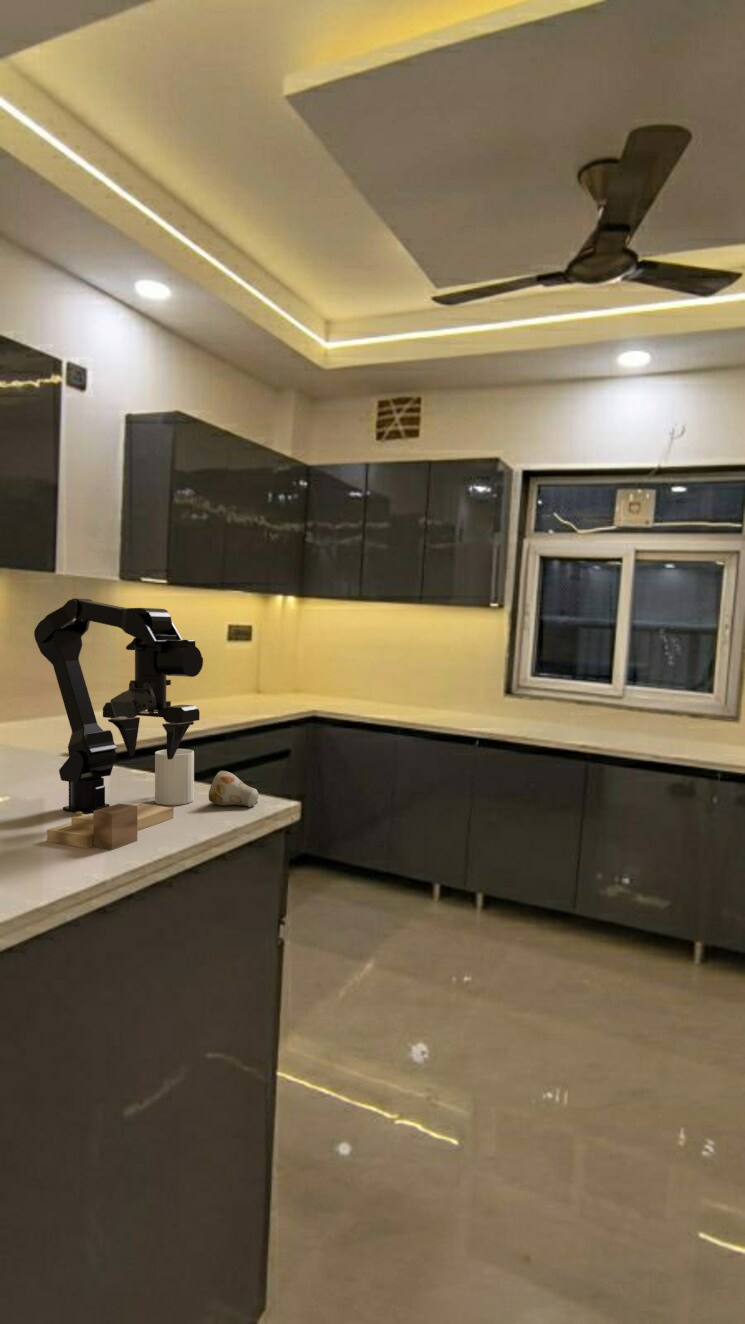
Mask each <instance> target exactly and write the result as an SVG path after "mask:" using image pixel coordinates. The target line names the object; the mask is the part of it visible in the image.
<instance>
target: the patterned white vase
mask: <svg viewBox="0 0 745 1324" xmlns="http://www.w3.org/2000/svg"><path fill="white" fill-rule="evenodd" d="M258 799H259V792H258V790H257V789H256V788H254V787H251V786H249V785H247V784H246V783H244V782H243V781H242V780H241V779H239V777H237V776H236V775H235V774H233V773H232V772H229V771H226V770H219V771H218V772H217V774H216V775H215V776H214V778H213V780H212V783H211V785H210V787H209V791H208V801H209V802H211V803H212V804H214V805H217V806H221V807H222V806H226V807H227V806H237V805H238V806H244V807H247V806H251V807H253V806H255V804H257V803H256V802H259V800H258Z"/></svg>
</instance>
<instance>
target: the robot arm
mask: <svg viewBox="0 0 745 1324" xmlns="http://www.w3.org/2000/svg"><path fill="white" fill-rule="evenodd" d="M90 622H93V623H98V624H102V625H106V626H110V627H116V628H119V629H121V630H122V631H123V632H124V633H125V634H127V635H129V636H131V637H134V638H133V639H132V641H131V642H130V643H128V644H127V645H126V646H125V650H127V651H134V679H133V680H129V683H128V689H127V690H125V691H122V692H121V693H120V694H119V693H118V694H117V695H116V696H115V697H113V698H111V699H110V700H109V702H105V704H104V705H103V707H102V718H108V719H107V721H108V722H109V723H111V724H113V725H114V726H115V727H116V728H118V731H119V734H120V736H121V738H122V740H123V743H124V745H125V746H124V747H125V748H126V751H127V754H128V756H134V755H135V754H136V748H137V744H138V743H137V742H138V734H139V726H140V722H141V721H140V720H141V717H153V718H162V719H163V720H164V721H165V723H162V727H163V729H164V731H165V732H166V749H167V758H168V759H169V760H170V759H173V757H174V755H175V753H176V751H177V749H179V746H180V743H181V742H182V739H183V738H184V736H185V735H186V732H187V731H188V729H189V728H190V726H193V725H194V724H195V722H197V721H200V710H199V707H197V705H195V704H194V705H192V704H191V705H189V704H176V705H175V704H174V705H172V701H171V700H170V701H168V700H167V686H172V680H171V679H167V676H168V677H170V676H171V677H186V678H187V677H188V678H189V677H190V678H194V677H196V676H198V675H199V674H200V673H201V671H202V669H203V666H204V658H203V656H202V653H201V650H200V649H199V648H198V647H197V646H196V640H195V639H183V637H182V635H181V634H180V632H179V630H178V629H177V627H176V625H175V624H174V621H173V620H172V617H171V615H170V611H168V610H167V609H165V608H155V607H154V608H151V607H124V606H119V605H114V604H108V603H104V602H100V601H94V600H92V599H90V598H76V597H75V598H71V599H69V600H67V601H66V602H65V603H64V604H63V606H61V607H59V608H58V609H55V610H54V611H51V612H50V613H48V614H47V615H46V616H45V617H44V618H43V619H41V620H40V621H39V622H38V623H37V626H36V627H35V629H34V631H33V635H34V639H35V642H36V645H37V647H38V649H39V652H40V653H41V655H42V656H43V657H44V658H46V659H47V661H48V662H50V664H51V665H52V666H53V671H54V674H55V678H56V680H57V684H58V686H59V687H58V688H59V690H60V691H59V692H60V694H61V697H62V702H63V705H64V709H65V712H66V716H67V719H68V723H69V726H70V730H71V735H70V738H69V742H68V746H67V751H68V758H67V759H66V761H64V763H63V764H62V766H61V767H60V768H59V769H58V772H59V777H60V780H61V781H63V782H68V805H67V806H62V810H63V811H68V812H75V813H76V812H82V814H90V813H92V812H93V811H95V810H98V809H102V808H105V807H109V806H111V804H110V803H106V786H105V783H104V782H105V779H104V777H110V776H111V775H112V773H113V772H112V770H113V767H114V765H115V762H116V761H115V760H116V759H117V752H116V750H117V749H118V747H117V746H116V744H115V741H114V736H113V732H112V731H111V730H110V729H107V730H106V729H105V730H103V728H101V726H100V725H99V724H98V720H97V717H96V714H95V710H94V707H93V704H92V701H91V700H92V699H91V697H90V694H89V690H88V687H87V684H86V680H85V676H84V674H83V673H84V672H83V669H82V666H81V663H80V658H79V657H80V656H81V651H82V648H83V640H82V637H83V636H84V634H86V633H87V632H88V631H89V627H90ZM139 716H140V717H139Z"/></svg>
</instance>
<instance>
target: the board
mask: <svg viewBox="0 0 745 1324" xmlns="http://www.w3.org/2000/svg"><path fill="white" fill-rule="evenodd" d="M130 805H134V806H137V832H138V831H141V830H143V829H146V828H147V829H148V828H149V827H152V826H155V825H157V824H161V823H163V822H167V821H169V820H171V819H172V820H173V819H174V807H170V806H165V805H162V806H161V805H154V804H148V803H141V802H135V803H131V804H130ZM46 842H50V843H54V844H55V843H56V844H62V845H66V846H67V845H68V846H73V847H78V848H83V849H89V848H92V847H93V831H91V830H85V829H79V828H73V827H71V822H67V823H65V824H62V825H57V826H54V827H51V828H48V829H46Z"/></svg>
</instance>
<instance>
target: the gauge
mask: <svg viewBox="0 0 745 1324" xmlns="http://www.w3.org/2000/svg"><path fill="white" fill-rule="evenodd" d="M70 819H71V822H70V823H71V827H73V828H79V829H85V830H91V831H93V846H92V847H93V848H98V849H99V848H100V849H103V850H110V851H111V850H112V851H113V850H115V849H118V848H121V847H123V846H126V845H129V844H131V843H132V844H133V843H135V842H137V841H138V831H137V806H134V805H131V804H128V803H127V804H126V803H116V804H112V805H110V806H109V807H105V808H102V809H98V810H95V811H93V815H91V814H87V813H82V812H75V815H73V816H71V818H70Z"/></svg>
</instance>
